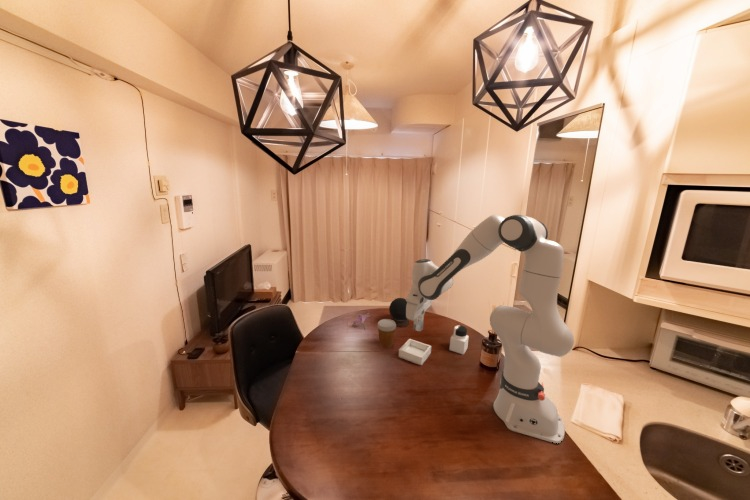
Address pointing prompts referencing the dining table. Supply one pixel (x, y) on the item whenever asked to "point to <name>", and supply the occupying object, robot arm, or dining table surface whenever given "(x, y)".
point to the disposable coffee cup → (386, 332)
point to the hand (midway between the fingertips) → (418, 321)
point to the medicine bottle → (459, 340)
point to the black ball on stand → (399, 312)
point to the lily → (360, 319)
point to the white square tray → (415, 351)
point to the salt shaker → (419, 322)
